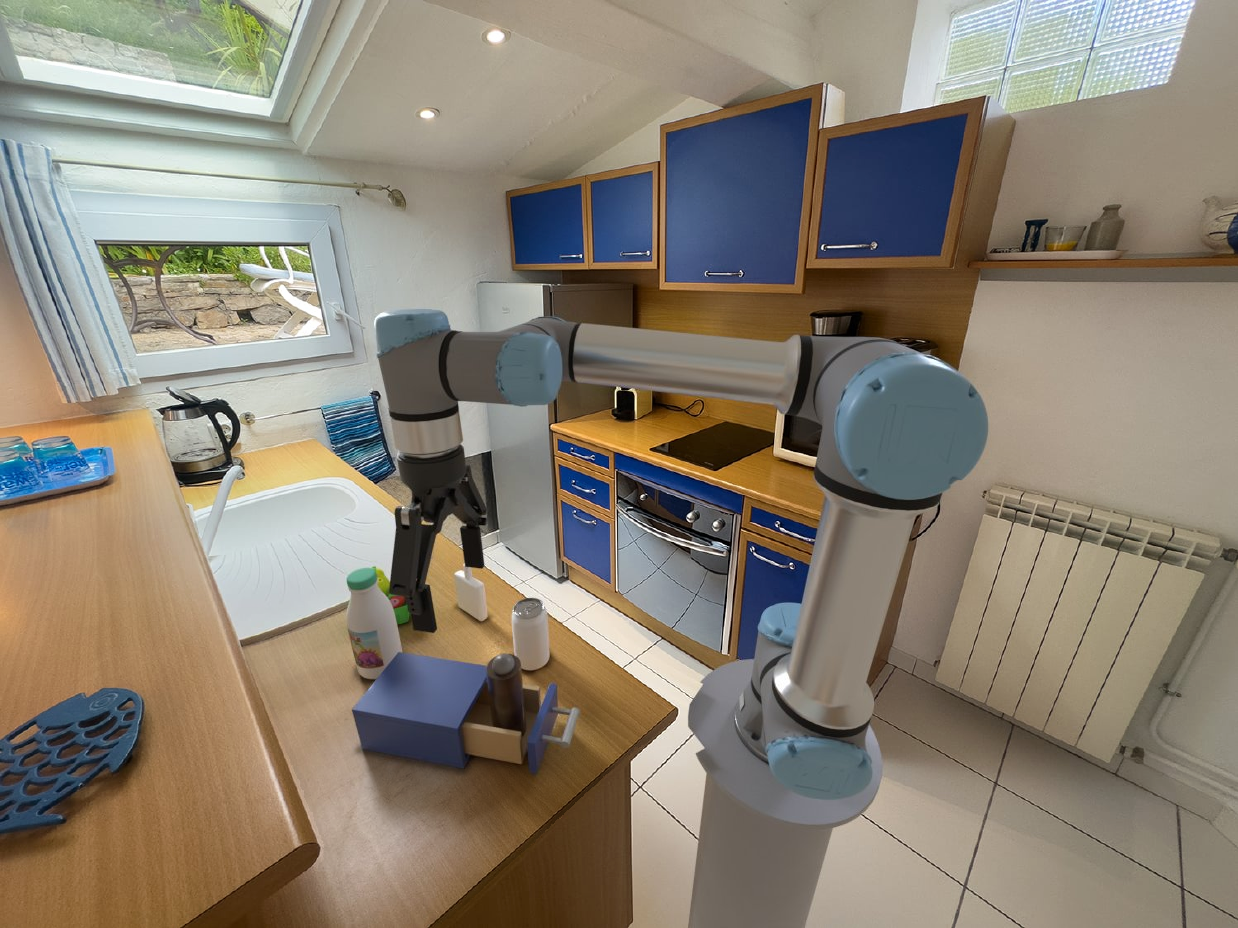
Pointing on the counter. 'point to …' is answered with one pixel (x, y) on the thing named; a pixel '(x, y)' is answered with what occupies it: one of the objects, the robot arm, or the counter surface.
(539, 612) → the can
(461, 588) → the perfume bottle
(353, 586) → the milk bottle
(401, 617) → the fruit basket
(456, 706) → the cabinet
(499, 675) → the pepper mill
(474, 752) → the drawer
